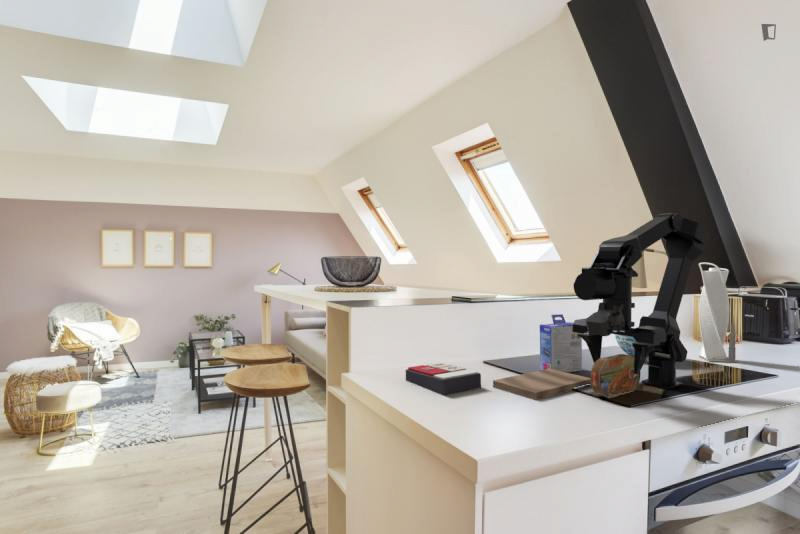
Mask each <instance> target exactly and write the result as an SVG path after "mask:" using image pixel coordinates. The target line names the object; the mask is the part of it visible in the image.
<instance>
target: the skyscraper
mask: <svg viewBox="0 0 800 534" xmlns="http://www.w3.org/2000/svg"><path fill="white" fill-rule="evenodd" d="M702 265H708V266H713V267H709V268H708V270H703V267H702ZM698 267H699V269H700V273H701V277H702V283H703V286H702V289H701V294H700V296H699V298H700V299H699V304H698V305H699V308H698V320H699V331H700V337H701V341H702V347H701V349H700V351H699V354H698V357H699V358H700V359H702V360H705V361H707V362H710V363H725V364H726V363H727V364H729V363H730V364H737V363H738V360H736V332H735V323H734V317H733V316H732V317H731V323H730V311H731V310H730V308H731V307H730V306H731V305H730V298H729V297H730V296H729V294H728V289H727V285H726V283H727V280H728V276H729V273H730V270H729V269H728V268H722V267H719V266H718V265H717V264H715V263H712V262H707V261H706V262H699V263H698ZM729 323H730V332H729V338H728V339H729V340H728V342H729V343H728V346H729V347H728V357H727V354H726V351H725V348H724V344H725V340H726V337H727V332H728V330H729V329H728V327H729Z"/></svg>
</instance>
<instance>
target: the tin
mask: <svg viewBox="0 0 800 534" xmlns="http://www.w3.org/2000/svg"><path fill="white" fill-rule="evenodd" d="M634 357H635V356H633V355H630V354H629V355H628V354H627V353H619V354H618V353H617V354H615V355H611V356H610V355H609V356H605V357H602V358H600V359H598V360H597V361H596V362H595V363H594V362H593V365H592V367H591V370H590V378H591V384H592V385H591V388H592V390H593V392H594V393H595V394H596V395H597V396H599V395H600V396H599V397H602V396H605V397H604V398H607V397H608V396H609V395H613V394H618V393H624V392H629V391H633V392H635V391H636V390H637V388H638V386H639V383H640V380H641V371H640V372H639V374H635V373H634Z"/></svg>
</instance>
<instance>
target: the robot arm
mask: <svg viewBox="0 0 800 534" xmlns="http://www.w3.org/2000/svg"><path fill="white" fill-rule="evenodd" d="M660 240H664V241H665V243H664V247H665V249H666V251H667V255H668V260H667V261H666V262H667V263H666V267H665V270H664V273H663V277H662V280H661V282H660V283H661V284H660V286H659V289H658V292H657V293H658V294H657V296H656V300H655V304H654V307H653V310H652V312H651V313H650V314H649V315H648V316H645V315H642V316H641V317H640V319H639V324H638V327H637V326H636V327H635V323H636V322H635V321H632V309H635V307H636V303H635V302H632V299H633V298H632V297H633V296H632V294H633V292H632V291H633V289H632V287H633V286H632V285H633V278H638V276H639V273H638V272H637V271H636V270H634V269H633V267H634V265H636V264H637V263H638V262H639V261H640V259H642V257H643V252H644V251H645V250H646V249H647V248H649V247H650V246H652V245H654V244H655V243H657V242H659V241H660ZM709 240H710V231H709V229H707V228H706V227H705V226H704V224H701V223H699V222H698V221H695V220H691V219H688V218H685V217H683V216H682V215H681V214H679V213H675V212H674V213H673V212H670V213H659V214H657V215H655V216H654V217H653V218H652V219H651V220H649V221H648V222H646V223H644V224H643V225H641V226H639V227H637V228H636V229H635V230H633V231H631V232H630V233H628V234H626V235H622V236H619V237H613V238H610V239H606V240H604V241H602V242H601V243H600V244H599V248H598V249H597V252H596V253H595V254H594V257H593V259H592V261H591V263H590V265H589V266H588V267H586V266H585V267H581V273H580V274H578V275H577V277H576V278H575V280H574V282H573V291H574V293H575V295H576V296H577V298H578V299H580V300H582V301H593V300H595V301H597V300H602V302H599V304H598V306H597V307H598V308H597V311H596V312H593V313H592V314H590V315H589V316H588V317H586V318H580V319H579V318H578V319H575V320H574V321H573V322H572V323H573V324H572V332H575V333H579V334H577V335H578V336H579V337H581V338H582V341H584V342H585V343H586V346H587V348H588V350H589V353H590V355H591V359H592V361H593V364H594V363H595V362H596V361H597V360H598V359H600V358H601V356H602V345H603V337H608V336H610V335H612V334H613V335H615V334H617V335H624V336H631V337H633V338H634V339H635V340H636V341H637V342H635V343H632V345H633V347H634V349H635V357H634V373H635V374H639V372H640V373H641V370H642V368H643V366H644V365H645V360H646V358H647V357H649V358H648V365H647V366H648V367H647V368H648V369H647V379H643V380H641V384H647V385H651V386H655V387H659V388H663V389H668V390H671V389H673V388H677V387H679V386H682V385H683V382H682V381H678V380H677V363H683V362H685V361H686V359H687V356H688V350H687V348H686V347H685V345H684V344H683V342H682V341H681V340H680V336H681V330H680V327H679V323H678V321H677V317H678V314H679V309H680V306H681V303H682V299H683V295H684V291H685V288H686V286H687V285H686V284H687V282H688V278H689V274H690V272H691V268H692V264H693V262H694V261H695V260H696V259H698V258H699V257H700V256H701V255H702V254H703V253H704V251H705V249H706V247H707V244H708V242H709ZM622 331H625V332H622Z"/></svg>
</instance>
